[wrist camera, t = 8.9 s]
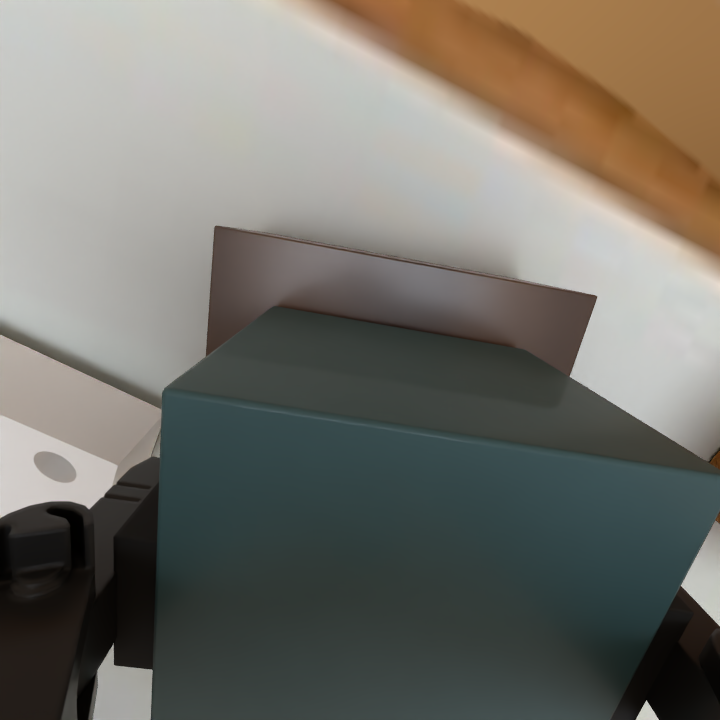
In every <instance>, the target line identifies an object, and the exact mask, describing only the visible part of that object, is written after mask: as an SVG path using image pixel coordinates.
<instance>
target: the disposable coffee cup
mask: <svg viewBox="0 0 720 720" xmlns="http://www.w3.org/2000/svg"><path fill="white" fill-rule="evenodd" d="M710 464H711V465H713V466H715V467H716V468H718V469H719V470H720V451H719V452H718V453H717V454H716V455H715V456H714V458H713V459H712V460H711V462H710ZM715 520H716V521H717V522H718V523H719V524H720V512H719V514H718V516H717V518H716V519H715Z"/></svg>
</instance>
